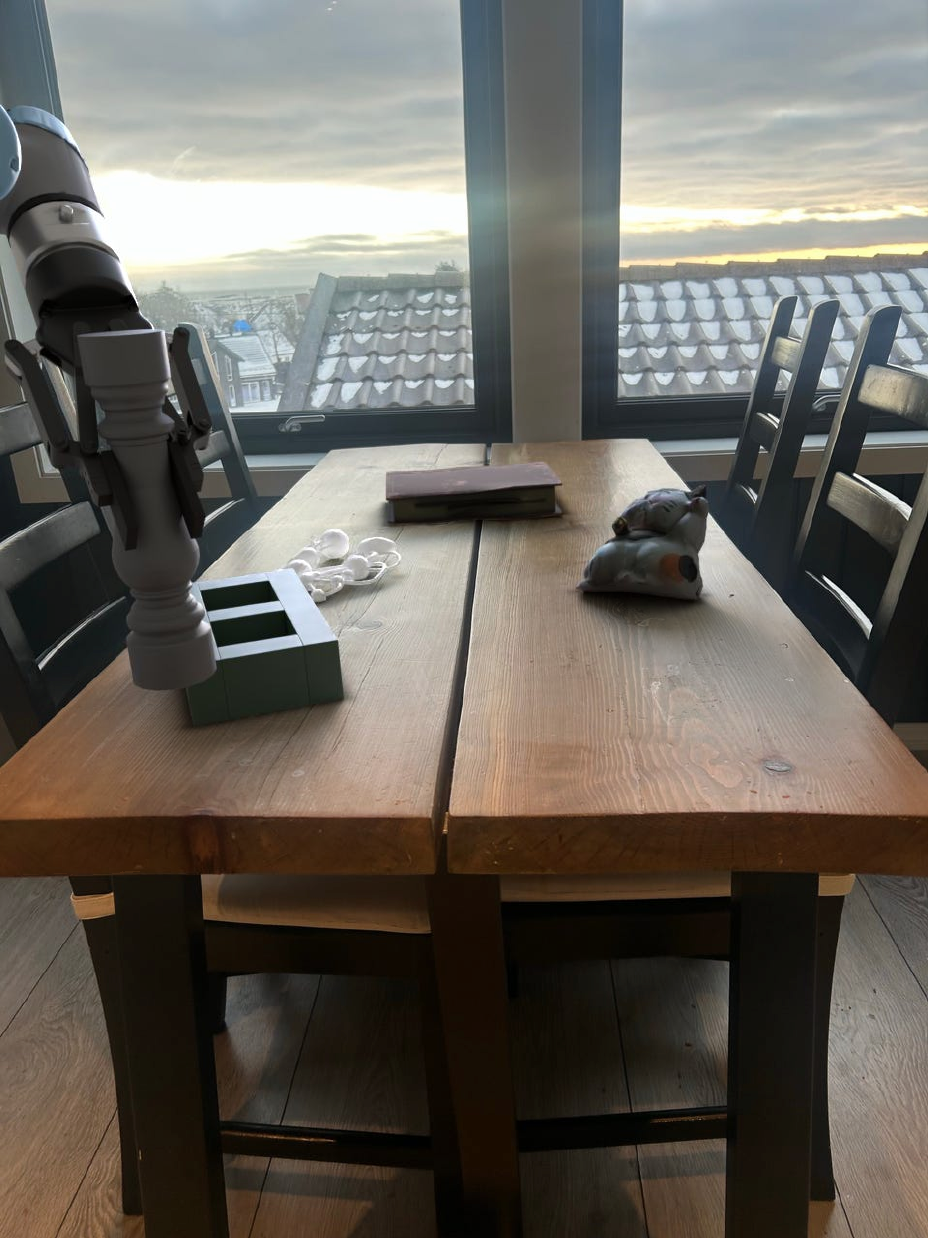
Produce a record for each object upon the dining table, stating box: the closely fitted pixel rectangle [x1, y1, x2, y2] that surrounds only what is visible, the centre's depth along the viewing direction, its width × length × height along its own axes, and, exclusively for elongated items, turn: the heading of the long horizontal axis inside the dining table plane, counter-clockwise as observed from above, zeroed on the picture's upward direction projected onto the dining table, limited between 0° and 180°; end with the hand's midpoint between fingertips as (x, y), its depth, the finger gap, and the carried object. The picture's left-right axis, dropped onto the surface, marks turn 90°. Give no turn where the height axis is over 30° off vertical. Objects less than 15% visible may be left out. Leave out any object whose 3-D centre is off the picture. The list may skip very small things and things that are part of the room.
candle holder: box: [77, 328, 217, 691], centre depth 72 cm, size 6×6×25 cm
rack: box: [185, 568, 345, 727], centre depth 95 cm, size 13×23×6 cm, turn 19°
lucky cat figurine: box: [574, 484, 710, 603], centre depth 108 cm, size 15×12×14 cm
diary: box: [385, 460, 564, 526], centre depth 149 cm, size 19×25×5 cm
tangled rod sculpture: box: [275, 528, 403, 604], centre depth 119 cm, size 19×14×4 cm
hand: (165, 532), depth 69 cm, fingers closed on candle holder, 4 cm apart
